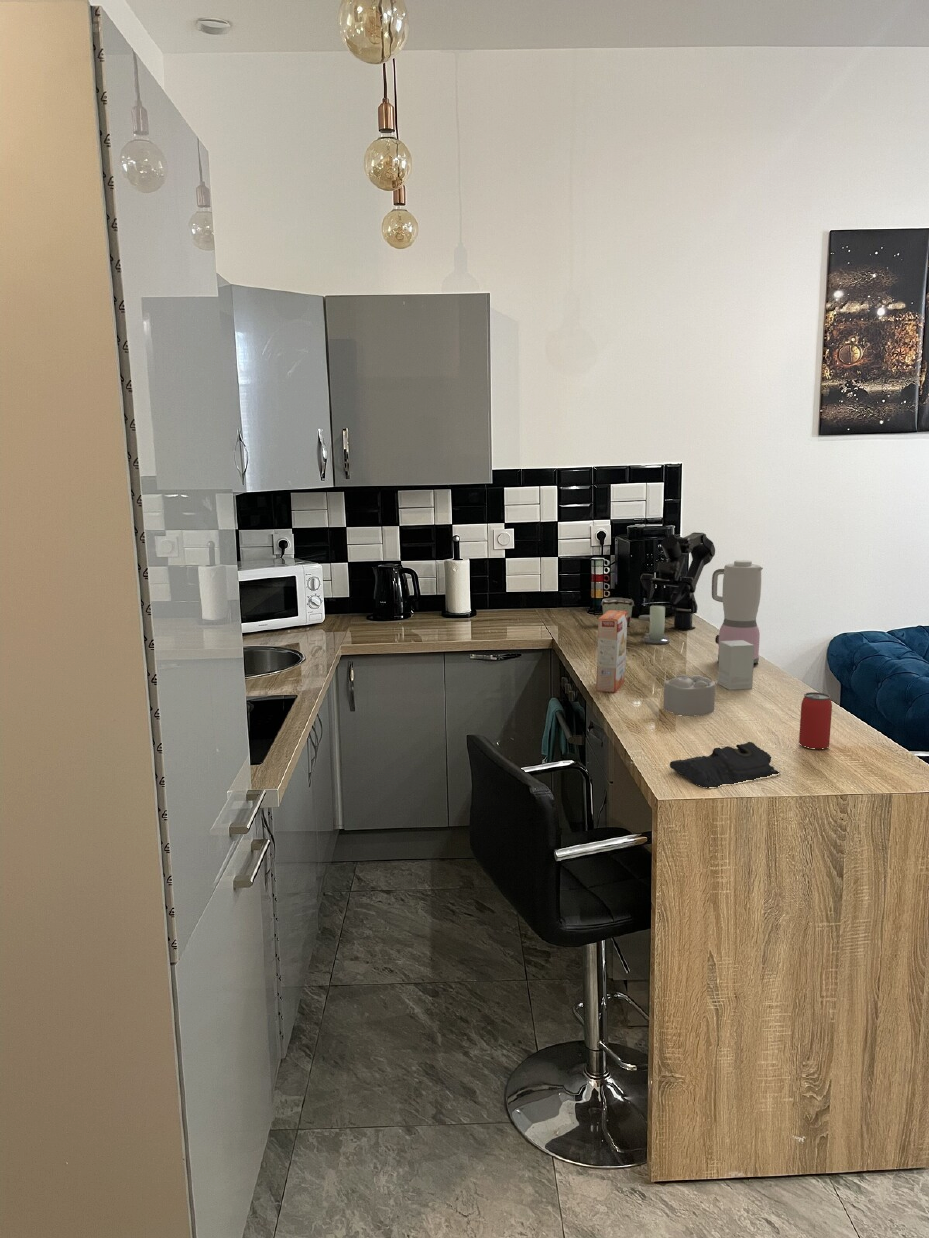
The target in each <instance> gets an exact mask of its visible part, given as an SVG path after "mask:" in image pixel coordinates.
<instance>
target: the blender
mask: <svg viewBox="0 0 929 1238" xmlns="http://www.w3.org/2000/svg"><path fill="white" fill-rule="evenodd" d="M763 569H764V568H763V567H762V566H761V565H759V564H755V563H754V564H753V562H752V561H751V560H747V559H746V560H745V559H738V560H737V559H735V560H734V562H733V563H725V565H724V568H718V569H717V568H716V570H714V571H713V573H712V577H711V598H712V599H713V600H714V601H716V602H719V603H722V606H723V622H722V624H721V626H720V628H719V630H718V631H719V633H718V634H717V635H716V636H715V640H714V642H715V644H717V645H718V654H717V661H718V664H719V647H720V641H734V640H744V641H746V642H748V643H750V644H753V645H754V664H757V665H758V664H759V662H760V661H759V660H760V655H759V654H760V653H759V651H760V638H761V636H760V635H761V633H760V628H759V626H758V624H757V615H758V611H759V606H760V603H761V595H762V571H763ZM720 575H723V578H722V596H720V595H718V580H719V576H720Z"/></svg>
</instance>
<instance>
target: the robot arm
mask: <svg viewBox="0 0 929 1238" xmlns="http://www.w3.org/2000/svg"><path fill="white" fill-rule="evenodd" d="M660 545H661V547H662V548H661V549H662V550H663V553H664V556H665V557H666V558H667V560H666V561H658V563H657V569H656V571H657V572H659V573H658V576H659V577H660V578H656V577H654V574H650V573H642V574H641V576H640V579H639V581H640V583H641V585H642V587H643V589H645V590H646V592H647V602H648V603H650V602H651V600H652V598H653V596H654V593H655V588H656V586H657V585H661V586H667V587H674V589H673V591H672V595H670V598H669V606H670V612H672V613H673V612H674V619H673V621H674V622H673V625H672V626H670V629H675V630H679V631H689V630H693V629H696V626H693V614H697V613H698V603H697V600H696V598H695V593H696V590H697V583H699V582H698V581H699V579H700V577H701V574H702V572H703V570H704V567H705V566H707V564H710V563H711V561H712V559H713V558H714V557H715V555H716V554H715V553H716V546H715V545H714V542H713V541H712V540H711V539H710V538H708V537H707V534H706V533H704V532H694V531H693V532H691V533H690V534H688V535H687V536H686V535H685V536H683V537H677V535H676V534H671V533H670V534H669V535H668V536H667V537H665V538H663V539H662V540H661V542H660ZM689 554H690V555H691V559H692V560H691V562H690V565H689V567H688V570H687V571H686V574H685V576H682V574H681V572H682V570H683V566H684V565H685V564H686V561H685V560H686V556H685V555H689ZM680 577H681V578H680ZM679 578H680V580H679Z"/></svg>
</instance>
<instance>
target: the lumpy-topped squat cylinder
mask: <svg viewBox="0 0 929 1238" xmlns="http://www.w3.org/2000/svg"><path fill="white" fill-rule="evenodd" d="M663 687H664V688H663V708H664V709H665V710H667V711H666V712H668V711H669V712H668V713H671V712H673V713H674V714H673V713H672V714H673V715H676V716H678V715H682V716H681V717H685V716H689V717H695V716H694V715H699V716H704V715H705V716H706V715H709V714H712V713H713V712H714V711H715V704H716V703H715V701H716V698H715V697H716V682H715V681H714V680H713V679H710V678H709V677H704V676H702V675H699V674H695V675H692V676H688V675H686V674H684V673H681V674H679V675H677V676H676V677H674V678H673V677H672V678H671V679H667V680H666V681H664V686H663ZM664 709H663V710H664ZM665 710H664V711H665Z"/></svg>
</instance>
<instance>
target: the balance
mask: <svg viewBox="0 0 929 1238" xmlns="http://www.w3.org/2000/svg"><path fill="white" fill-rule="evenodd" d="M638 620H640V621H645V622H646V621H647V622H650V614H642V615H639V616H638ZM642 641H643V643H644V644H647V643H649V644H648V645H656V646H657V645H661V646H662V645H668V644H670V643H671V638H670V637H668V636H664V639H663V640H652V639H649V632H645V633H644V636H643V638H642Z"/></svg>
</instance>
